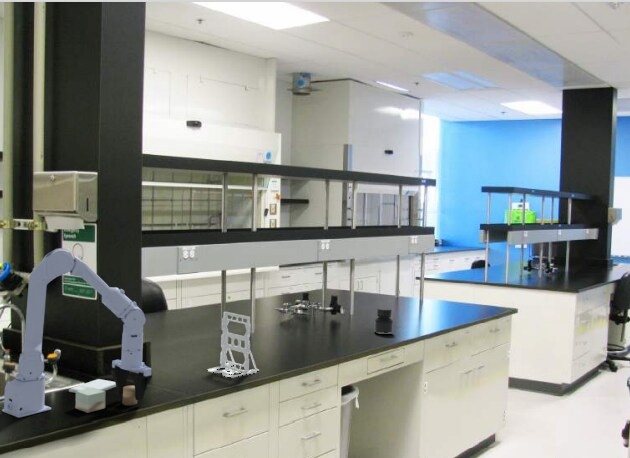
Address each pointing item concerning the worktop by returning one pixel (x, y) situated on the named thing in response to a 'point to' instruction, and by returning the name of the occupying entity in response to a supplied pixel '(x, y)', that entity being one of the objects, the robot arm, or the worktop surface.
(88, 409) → the slab lower
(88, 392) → the slab upper
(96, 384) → the external hard drive
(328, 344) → the worktop surface
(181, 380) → the worktop surface
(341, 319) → the worktop surface
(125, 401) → the beech cylinder
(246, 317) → the grey upright openwork frame
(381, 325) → the ink bottle
